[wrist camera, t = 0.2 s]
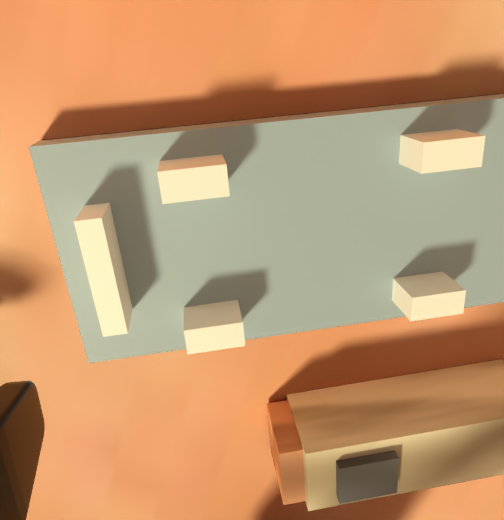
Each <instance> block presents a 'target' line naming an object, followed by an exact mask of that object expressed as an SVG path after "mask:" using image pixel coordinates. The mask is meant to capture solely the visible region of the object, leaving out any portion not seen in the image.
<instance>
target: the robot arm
mask: <svg viewBox="0 0 504 520" xmlns="http://www.w3.org/2000/svg"><path fill="white" fill-rule="evenodd" d="M43 437H44V418H43V414H42V410H41V405H40V401H39V397H38V392H37V389H36V386H35V384H34V383H33V382H31V381H21V382H10V383H5V384H3V385H2V386H0V520H26V517H27V512H28V508H29V503H30V498H31V494H32V489H33V484H34V479H35V475H36V470H37V465H38V461H39V456H40V451H41V446H42V442H43Z"/></svg>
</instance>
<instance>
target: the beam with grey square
mask: <svg viewBox="0 0 504 520" xmlns="http://www.w3.org/2000/svg"><path fill="white" fill-rule="evenodd" d="M267 412H268V423H269V433H270V444H271V453H272V457H273V462H274V466H275V470H276V475H277V479H278V484H279V488H280V492H281V497H282V501H283V505H287V504H292V503H298V502H303V501H306V505H307V509H308V511H313V510H318V509H323V508H329V507H334V506H339V505H344V504H350V503H355V502H360V501H365V500H371V499H376V498H381V497H387V496H392V495H397V494H402V493H408V492H413V491H418V490H424V489H429V488H434V487H439V486H445V485H450V484H455V483H460V482H466V481H471V480H476V479H482V478H487V477H492V476H497V475H503V474H504V360H503V359H499V360H493V361H487V362H481V363H475V364H469V365H463V366H457V367H451V368H445V369H438V370H432V371H426V372H420V373H414V374H408V375H402V376H396V377H390V378H384V379H378V380H372V381H366V382H360V383H354V384H348V385H342V386H336V387H330V388H323V389H317V390H311V391H305V392H299V393H293V394H287V400H286V401H280V402H274V403H268V404H267Z"/></svg>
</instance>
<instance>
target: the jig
mask: <svg viewBox="0 0 504 520" xmlns="http://www.w3.org/2000/svg"><path fill="white" fill-rule="evenodd" d="M29 150H30V154H31V157H32V161H33V164H34V168H35V172H36V175H37V179H38V182H39V186H40V190H41V193H42V197H43V200H44V204H45V208H46V211H47V215H48V219H49V222H50V226H51V229H52V233H53V237H54V240H55V244H56V247H57V251H58V255H59V258H60V262H61V265H62V269H63V273H64V276H65V280H66V283H67V287H68V291H69V294H70V298H71V301H72V305H73V309H74V312H75V316H76V319H77V323H78V327H79V330H80V334H81V338H82V341H83V345H84V348H85V352H86V356H87V359H88V363H94V362H100V361H107V360H114V359H121V358H127V357H134V356H141V355H148V354H155V353H161V352H168V351H175V350H182V349H187V354H194V353H201V352H208V351H214V350H221V349H228V348H235V347H241V346H245V340H249V339H256V338H263V337H270V336H277V335H283V334H290V333H297V332H304V331H310V330H317V329H324V328H331V327H338V326H344V325H351V324H358V323H365V322H371V321H378V320H385V319H392V318H398V317H405V316H406V317H407V318H408V319H409V320H410V321H416V320H423V319H430V318H436V317H443V316H450V315H456V314H463V311H464V308H466V307H473V306H480V305H487V304H493V303H500V302H504V94H496V95H486V96H477V97H467V98H457V99H447V100H437V101H427V102H417V103H407V104H398V105H388V106H378V107H368V108H358V109H348V110H338V111H328V112H319V113H309V114H299V115H289V116H279V117H269V118H259V119H249V120H239V121H230V122H220V123H210V124H200V125H190V126H180V127H170V128H160V129H151V130H141V131H131V132H121V133H111V134H101V135H91V136H81V137H71V138H62V139H52V140H42V141H38V142H37V143H35V144H33V145H31V146H29Z"/></svg>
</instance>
